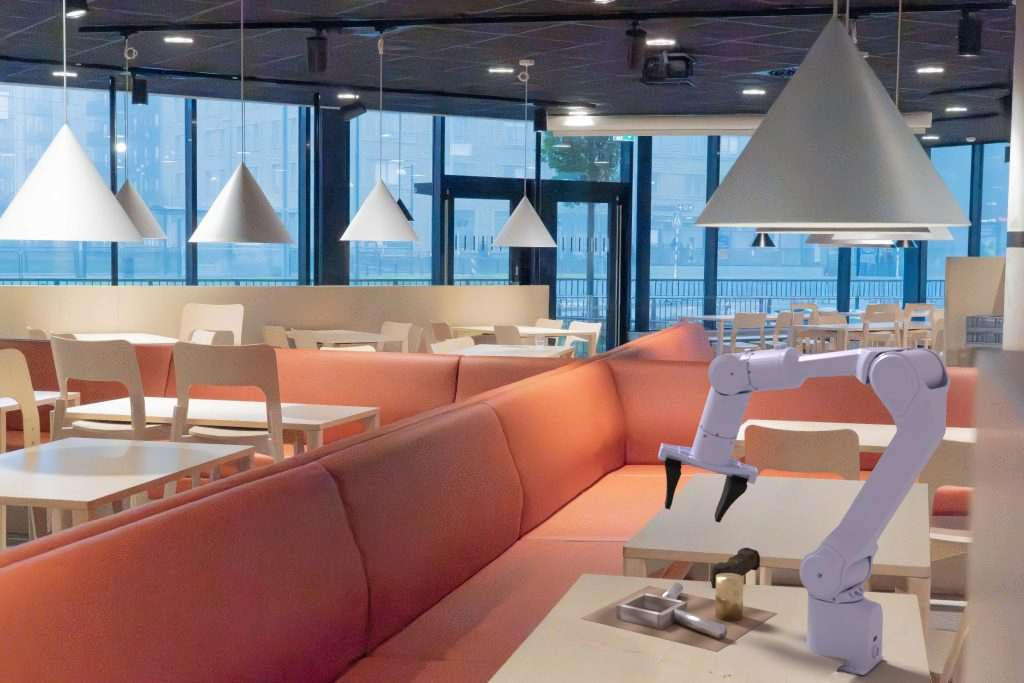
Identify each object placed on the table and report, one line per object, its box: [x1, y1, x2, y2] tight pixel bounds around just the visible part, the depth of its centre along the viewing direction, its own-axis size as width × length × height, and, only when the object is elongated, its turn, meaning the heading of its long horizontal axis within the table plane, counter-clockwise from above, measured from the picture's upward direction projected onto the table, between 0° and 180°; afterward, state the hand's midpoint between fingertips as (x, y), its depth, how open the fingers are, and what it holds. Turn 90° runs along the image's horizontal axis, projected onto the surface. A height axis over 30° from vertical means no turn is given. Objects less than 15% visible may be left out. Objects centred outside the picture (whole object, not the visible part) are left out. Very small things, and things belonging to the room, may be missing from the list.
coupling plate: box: [580, 585, 778, 653], centre depth 158 cm, size 22×20×4 cm
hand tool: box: [710, 547, 761, 589], centre depth 180 cm, size 19×4×5 cm, turn 147°
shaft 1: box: [662, 582, 684, 600], centre depth 164 cm, size 8×2×2 cm, turn 158°
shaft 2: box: [671, 609, 727, 640], centre depth 152 cm, size 9×2×2 cm, turn 38°
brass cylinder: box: [714, 573, 745, 621], centre depth 158 cm, size 4×4×6 cm
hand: (692, 512), depth 160 cm, fingers open, 7 cm apart
